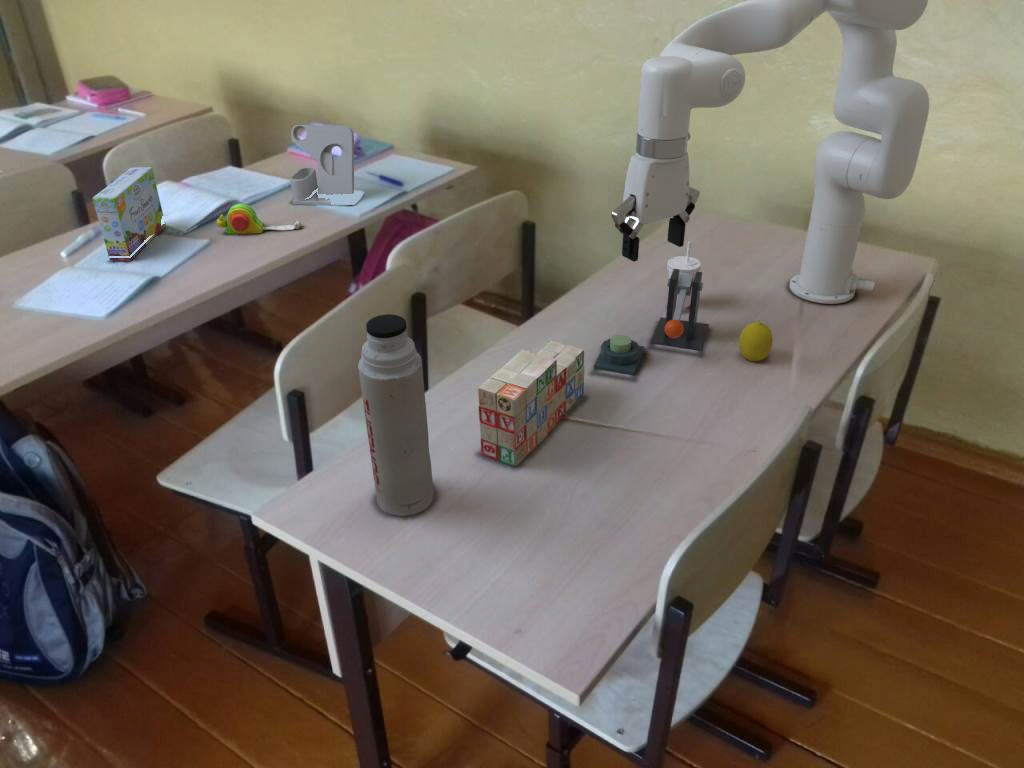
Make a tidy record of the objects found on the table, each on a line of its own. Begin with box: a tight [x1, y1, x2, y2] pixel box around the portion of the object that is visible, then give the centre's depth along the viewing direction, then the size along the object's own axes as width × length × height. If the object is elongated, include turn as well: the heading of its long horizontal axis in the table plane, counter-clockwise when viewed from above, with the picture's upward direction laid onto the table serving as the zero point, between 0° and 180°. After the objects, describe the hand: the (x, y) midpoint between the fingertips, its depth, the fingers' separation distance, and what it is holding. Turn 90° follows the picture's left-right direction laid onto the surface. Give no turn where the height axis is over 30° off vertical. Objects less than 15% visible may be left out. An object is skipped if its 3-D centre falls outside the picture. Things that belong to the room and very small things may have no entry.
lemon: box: [738, 320, 774, 362], centre depth 142 cm, size 6×6×8 cm
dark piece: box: [593, 337, 646, 376], centre depth 144 cm, size 9×7×4 cm
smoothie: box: [666, 240, 702, 309], centre depth 158 cm, size 6×6×14 cm
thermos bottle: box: [357, 313, 435, 517], centre depth 108 cm, size 8×8×28 cm
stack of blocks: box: [477, 340, 585, 468], centre depth 126 cm, size 21×6×12 cm, turn 148°
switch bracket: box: [649, 269, 709, 352], centre depth 148 cm, size 10×9×13 cm
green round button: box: [609, 334, 632, 353], centre depth 143 cm, size 4×4×2 cm
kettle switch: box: [665, 274, 693, 338], centre depth 143 cm, size 13×3×3 cm, turn 161°
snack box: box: [91, 166, 167, 262], centre depth 190 cm, size 21×6×15 cm, turn 179°
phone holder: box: [289, 124, 355, 207], centre depth 212 cm, size 17×10×18 cm, turn 81°
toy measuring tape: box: [216, 203, 302, 235], centre depth 197 cm, size 6×20×7 cm, turn 96°
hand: (652, 251), depth 133 cm, fingers open, 9 cm apart
